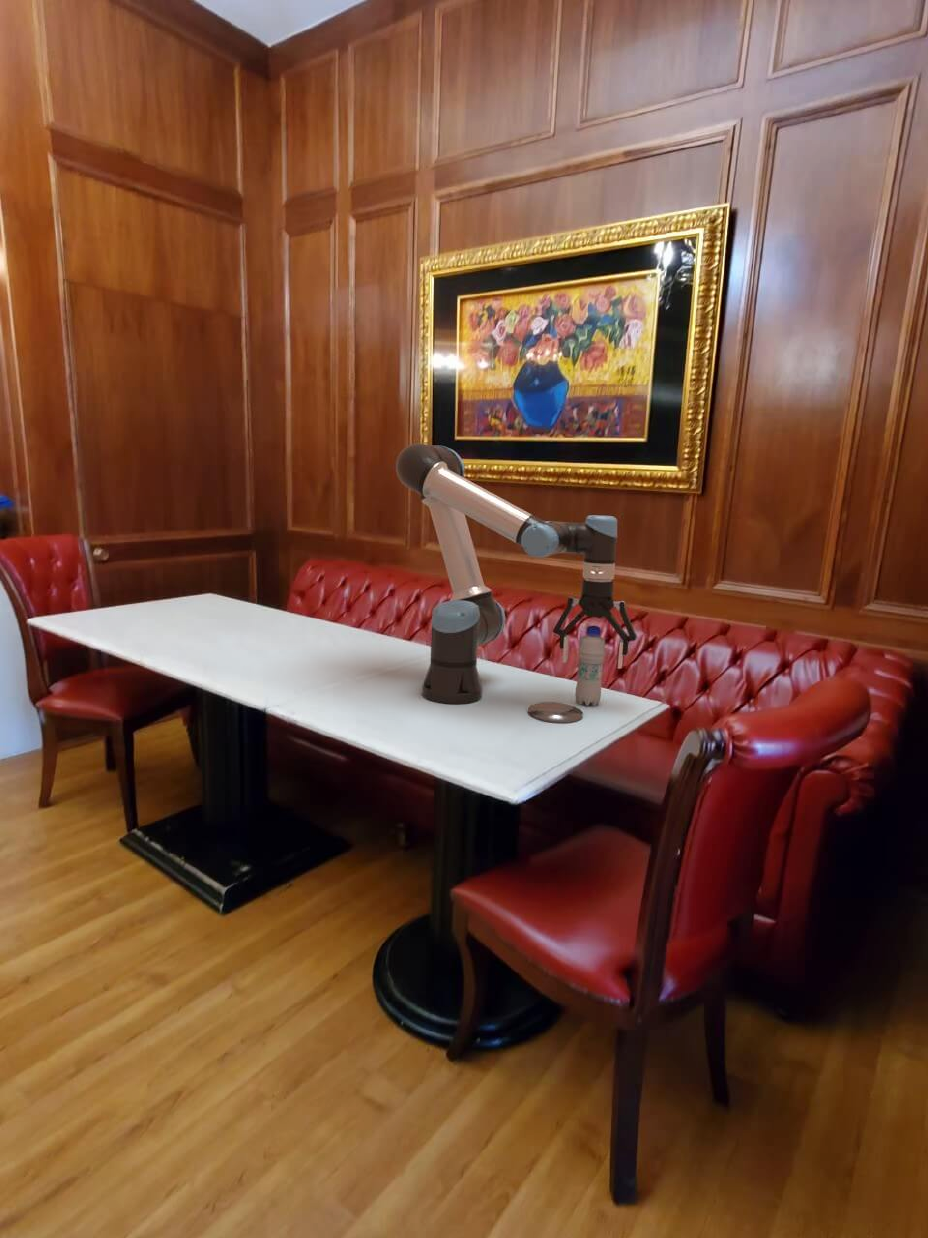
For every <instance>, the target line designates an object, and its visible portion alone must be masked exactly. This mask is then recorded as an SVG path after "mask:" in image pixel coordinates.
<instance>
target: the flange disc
mask: <svg viewBox="0 0 928 1238" xmlns="http://www.w3.org/2000/svg"><path fill="white" fill-rule="evenodd" d="M527 714H528V715H529V716H530V717H532V718H533V719H535V720H538V721H542V722H545V723H552V724H572V723H576V722H579V721H581V720H582V719H583V715H584V713H583V711H582V710H581V708H579V707H576V706H575V705H572V704H571V705H570V704H567V703H561V702H551V701H549V702H548V701H543V702H536V703H532V704H530V705H529V706H528V707H527Z"/></svg>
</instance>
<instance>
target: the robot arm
mask: <svg viewBox="0 0 928 1238" xmlns="http://www.w3.org/2000/svg"><path fill="white" fill-rule="evenodd" d="M395 470H396V475H397V477H398V479H399V481H400V482H401V484H402V485H403V486H404V487H406V488H408V489H409V490H411V491H413V492H415V493H417V494H418V495H419V497H420V500H421V502H422V504H424V505H425V506H427V507H428V509H429V512H430V515H431V519H432V521H433V526H434V530H435V534H436V536H437V540H438V543H439V544H438V545H439V547H440V551H441V553H442V554H441V555H442V558H443V562H444V566H445V569H446V572H447V576H448V580H449V584H450V586H451V587H450V588H451V591H452V596H451V597H450V600H448V601H444V602H440V603H438V604H437V605H435V607H434V608H433V609H432V616H431V620H430V623H431V631H430V632H431V634H430V635H431V636H430V637H431V639H430V665H429V667H428V669H427V673H426V675H425V678H424V681H423V684H422V687H421V689H422V692H421V693H422V696H423V697H424V698H425V699H427V700H429V701H432V702H436V703H443V704H450V705H452V704H453V705H456V704H457V705H458V704H459V705H461V704H469V703H471V704H472V703H475V702H477V701H480V700H481V698H482V697H483V686H482V682H481V679H480V674H479V671H478V668H477V663H478V662H477V660H478V648H480V647H481V646H483V645H486V644H487V645H488V644H490V643H491V642H493V641H495V640H496V639H497V638H498V637H499V636H500V635H501V634H502V632H503V630H504V628H505V625H506V614H505V610H504V609H503V607H502V605H501V604H500V603H499V602H497V601H496V600H495V598H494V594H493V590H492V589H491V588H489V587H488V586H486V585H485V583H484V580H483V576H482V573H481V569H480V565H479V562H478V558H477V555H476V550H475V547H474V543H473V539H472V536H471V533H470V530H469V525H468V521H467V518H466V516H467V517H469V519H473V520H474V521H476V522H478V523H479V524H482V526H484V527H486V528H488V529H490V530H492V531H493V532H496V533H497V534H499V535H500V536H503V537H505V538H506V539H509V540H510V541H512V542H513V543H514V544H517V545H519V546H520V547H522V549H523V551H524V552H525V553H526V554H527V555H528V556H529V557H533V558H540V559H541V558H547V557H549V556H553V555H558V554H577V555H583V567H582V577H583V580H582V581H581V592H580V594H581V597H580V598H577V597H576V598H575V597H574V596H569V598H568V599H567V603H566V607H565V608H564V610H563V612H562V614H561V615H560V617H559V619H558V621H557V622H556V623H555V626H554V628H553V630H552V633H554V634H556V635H559V644H558V645H559V649H560V650H561V649H563V650H562V651H563V653H562V663H563V664H567V662H568V657H569V639H570V636H569V635H567V633H568V632H569V631H570V630H572V628H573V627H574V626H576V624H577V623H579V621H580V620H582V619H583V618H584V616H586V617H588V618H597V619H604V618H605V619H606V620H607V622H608V623H609V624H610V625H611V626H612V628H613V629H614V631H615V632H616V633H617V635H618V636H619V638H620V639H621V640H620V642H619V647H618V648H619V649H618V661H617V669H622V667H623V658H624V657H623V656H626V655H628V652H629V643H630V642H632V641H636V639H637V633H636V631H635V629H634V626H633V624H632V622H631V619H630V617H629V614H628V612H627V608H626V601H625V600H621V601H614V599H613V597H614V596H613V594H614V582H613V580H614V579H615V570H616V568H615V567H616V551H617V542H618V541H617V540H618V536H619V535H618V519H617V518H616V517H615V516H611V515H594V514H593V515H588V516H586V519H585V521H584V522H570V521H569V522H568V521H567V522H566V521H556V520H555V521H554V520H548V521H545V520H542V519H540V518H539V517H537V516H535V515H533V514H532V513H529V512H528V511H525V510H524V509H522V508H521V507H518V506H516V505H515V504H512V502H509V501H507V500H506V499H503V498H502V497H500V496H498V495H496V494H494V493H493V492H491V491H489V490H487V489H485V488H483V487H482V486H480V485H478V484H476V483H474V482H472V481H470V480H469V479H467V478H466V477H465V470H466V469H465V465H464V462H463V459H462V457H461V456H460V455H459V454H458V452H457V451H455V450H453V449H452V448H449V447H447V446H444V445H438V444H437V445H433V444H426V443H419V442H417V443H413V444H409V445H408V446H406V447H405V448H403V449H402V450H401V451H400V452H399V455H398V456H397V458H396V463H395ZM577 604H578V606H580V608H581V611H580V612H579V613H578V614H577V615H576V616H575V617H573V619H572V620H571V621H570V622H569V623H568V624H567V625H566V626H565V627H564V628H563V629H561V628H562V626H563V625H564V623H565V622H566V620H567V617H568V616H569V614H570V613H571V611H572V609H573V607H576V605H577ZM614 607H615V609H616V610H617V611H618V612H619V614H620V617H621V619H622V621H623V624H624V626H625V628H626V630H627V633H628V634H627V633H626V631H625V630H624V629H623V628H622V626H621V625H620V623H619V622H618V620H616V618H615V617H614V614H613V613H612V612H611V610H612V609H613V608H614Z"/></svg>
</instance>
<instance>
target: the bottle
mask: <svg viewBox="0 0 928 1238" xmlns="http://www.w3.org/2000/svg"><path fill="white" fill-rule="evenodd" d="M577 651H578V654H577V655H578V658H579V659H578V669H577V680H576V687H575V695H574V696H575V701H576V702H577V703H578V704H579V705H581V706H582V705H584V703H585V706H586V707H589V705H590V704H591V706H596V705H598V704H599V703H600V701H601V696H602V676H603V667H604V666H603V665H604V660H605V658H606V652H607V651H606V639H605V638H603V637H601V628H600V627H599V626H598V625H588V626H587V627H586V634H585V635H584V636H582V637H580V641H579V644H578V649H577Z"/></svg>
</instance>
